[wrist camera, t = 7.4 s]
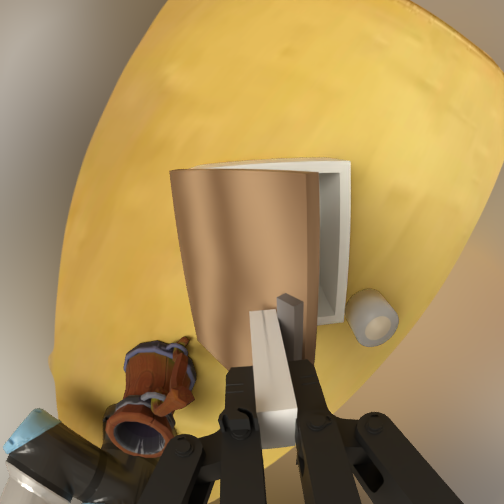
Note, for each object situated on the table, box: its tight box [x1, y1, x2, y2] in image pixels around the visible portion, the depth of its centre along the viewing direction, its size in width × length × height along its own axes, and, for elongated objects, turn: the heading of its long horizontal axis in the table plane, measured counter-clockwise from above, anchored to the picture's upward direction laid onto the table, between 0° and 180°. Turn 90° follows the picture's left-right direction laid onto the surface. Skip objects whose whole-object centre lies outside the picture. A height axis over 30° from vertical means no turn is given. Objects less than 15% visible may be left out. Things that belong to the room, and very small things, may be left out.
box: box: [189, 157, 351, 325], centre depth 29 cm, size 14×16×8 cm
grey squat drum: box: [345, 289, 399, 347], centre depth 34 cm, size 6×6×5 cm
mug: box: [105, 337, 196, 458], centre depth 32 cm, size 18×12×15 cm, turn 142°
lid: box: [169, 169, 320, 371], centre depth 19 cm, size 14×16×1 cm
